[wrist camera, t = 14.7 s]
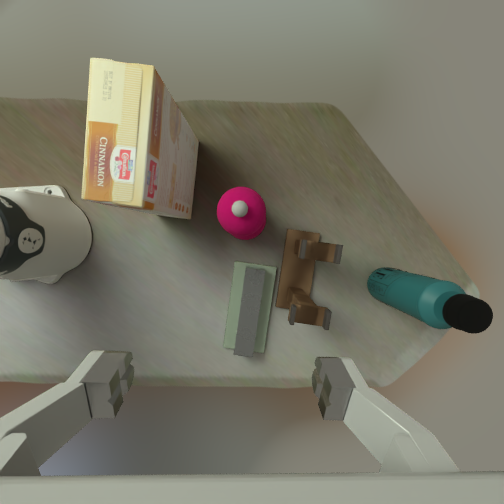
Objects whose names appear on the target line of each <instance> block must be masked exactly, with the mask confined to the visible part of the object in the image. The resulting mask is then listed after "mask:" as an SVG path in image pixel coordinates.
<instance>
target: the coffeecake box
mask: <svg viewBox="0 0 504 504" xmlns="http://www.w3.org/2000/svg"><path fill="white" fill-rule="evenodd" d="M198 145H199V140H198V139H197V137H196V136H195V134H194V132H193V131H192V129H191V128H190V126H189V124H188V122H187V121H186V119H185V118H184V116H183V114H182V113H181V111H180V109H179V108H178V106H177V104H176V103H175V101H174V99H173V98H172V96H171V94H170V93H169V91H168V89H167V88H166V86H165V84H164V83H163V81H162V80H161V78H160V76H159V75H158V73H157V71H156V69H155V67H154V66H151V65H143V64H136V63H123V62H115V61H113V60H111V59H100V58H91V60H90V73H89V89H88V106H87V122H86V137H85V153H84V169H83V184H82V199H83V200H87V201H91V202H96V203H100V204H105V205H110V206H115V207H120V208H125V209H130V210H135V211H140V212H144V213H150V214H155V215H161V216H168V217H175V218H183V219H191V213H192V205H193V195H194V185H195V175H196V166H197V155H198Z"/></svg>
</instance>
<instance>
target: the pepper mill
mask: <svg viewBox="0 0 504 504" xmlns="http://www.w3.org/2000/svg"><path fill="white" fill-rule="evenodd" d="M217 217H218V220H219V222H220V224H221V226H222V227H223V228H224V229H225V230H226V231H227V232H228V233H230V234H231V235H233V236H234V237H236V238H238V239H242V240H249V239H253V238H255V237H257V236H258V235H259V234H260V233H261V232H262V231H263V229H264V227H265V224H266V207H265V203H264V201H263V199H262V198H261V196H260V195H259V194H258V193H257V192H256V191H254V190H252V189H250V188H247V187H236V188H232V189H230V190H228V191H227V192H225V193H224V194H223V195H222V197H221V199H220V200H219V203H218V206H217Z"/></svg>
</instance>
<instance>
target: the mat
mask: <svg viewBox="0 0 504 504" xmlns="http://www.w3.org/2000/svg"><path fill="white" fill-rule="evenodd" d="M246 266H251V267H258V268H265V277H264V283H263V290H262V297H261V304H260V311H259V317H258V324H257V331H256V338H255V345H254V351H253V352H258V353H264V347H265V341H266V334H267V328H268V321H269V314H270V308H271V301H272V295H273V288H274V281H275V275H276V268H277V267H273V266H266V265H259V264H252V263H245V262H238V261H235V264H234V271H233V279H232V286H231V293H230V300H229V307H228V315H227V322H226V329H225V336H224V344H223V347H224V348H231V349H234V348H235V341H236V334H237V327H238V320H239V313H240V305H241V298H242V291H243V284H244V277H245V270H246Z"/></svg>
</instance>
